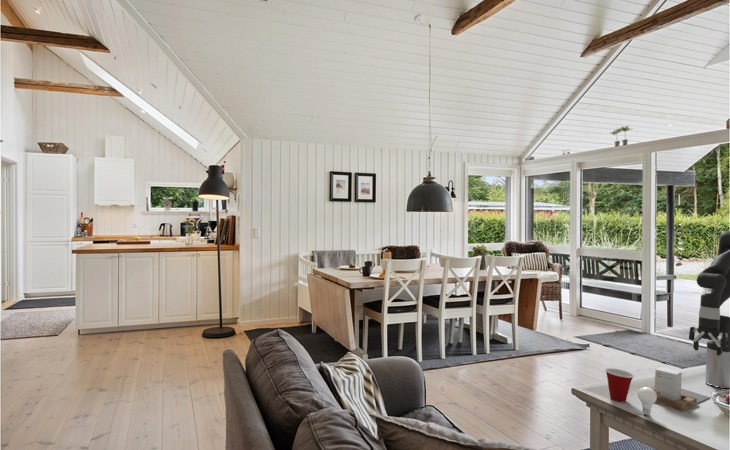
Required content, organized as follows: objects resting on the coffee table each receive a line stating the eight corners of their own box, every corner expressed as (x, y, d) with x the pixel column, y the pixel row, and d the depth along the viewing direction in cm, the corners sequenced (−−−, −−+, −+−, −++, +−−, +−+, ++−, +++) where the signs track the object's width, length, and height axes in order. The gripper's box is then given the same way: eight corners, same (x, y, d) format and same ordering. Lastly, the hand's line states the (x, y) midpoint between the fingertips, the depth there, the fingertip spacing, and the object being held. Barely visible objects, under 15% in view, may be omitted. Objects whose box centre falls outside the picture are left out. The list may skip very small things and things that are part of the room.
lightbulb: (638, 410, 178) (639, 383, 177) (657, 415, 174) (658, 387, 173) (635, 415, 173) (636, 387, 172) (655, 420, 169) (656, 392, 168)
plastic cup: (639, 403, 185) (640, 374, 184) (619, 405, 181) (620, 377, 181) (617, 393, 195) (618, 366, 195) (598, 395, 192) (599, 368, 191)
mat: (678, 388, 202) (678, 387, 202) (709, 398, 192) (710, 397, 192) (666, 393, 196) (666, 392, 196) (697, 403, 186) (697, 402, 186)
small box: (680, 402, 187) (682, 371, 187) (676, 405, 183) (677, 374, 183) (659, 395, 193) (660, 366, 193) (653, 399, 189) (655, 369, 189)
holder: (655, 390, 199) (655, 385, 199) (696, 404, 185) (696, 398, 185) (639, 396, 191) (639, 391, 191) (681, 411, 178) (681, 405, 178)
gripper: (732, 320, 196) (729, 356, 196) (695, 313, 209) (693, 348, 208) (724, 320, 192) (722, 357, 192) (687, 314, 205) (685, 349, 204)
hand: (707, 352), depth 200 cm, fingers open, 8 cm apart
